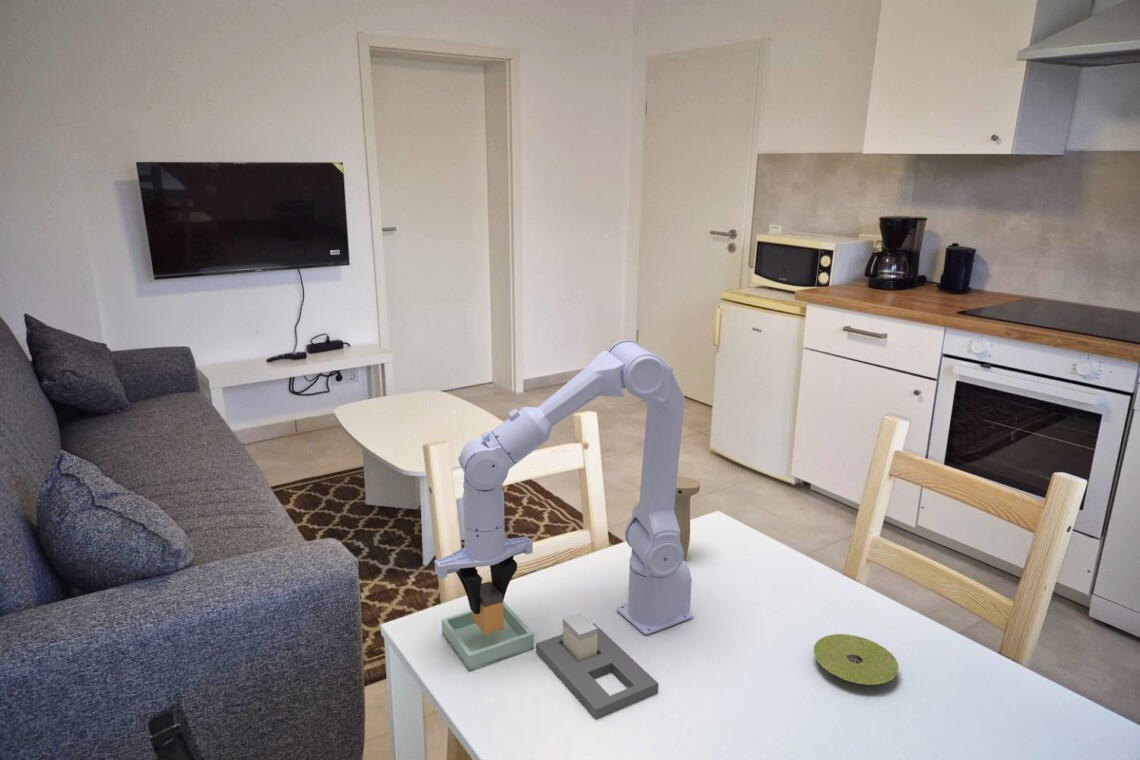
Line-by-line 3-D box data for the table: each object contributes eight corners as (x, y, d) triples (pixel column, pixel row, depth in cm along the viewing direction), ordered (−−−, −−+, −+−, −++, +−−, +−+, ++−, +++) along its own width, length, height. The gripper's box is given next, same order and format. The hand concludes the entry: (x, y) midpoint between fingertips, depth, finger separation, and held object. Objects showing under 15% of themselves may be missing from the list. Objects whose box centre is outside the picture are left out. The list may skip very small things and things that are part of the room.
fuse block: (593, 631, 114) (594, 623, 113) (658, 692, 101) (658, 683, 100) (536, 652, 109) (536, 643, 108) (595, 719, 96) (595, 709, 95)
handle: (694, 567, 132) (699, 489, 128) (658, 563, 134) (661, 486, 130) (696, 554, 137) (700, 478, 133) (661, 550, 138) (664, 475, 134)
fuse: (580, 645, 111) (580, 612, 109) (596, 661, 107) (597, 628, 106) (562, 651, 109) (563, 618, 108) (579, 668, 106) (579, 634, 104)
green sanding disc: (835, 635, 113) (836, 624, 113) (910, 669, 106) (912, 657, 105) (797, 668, 106) (798, 656, 105) (875, 708, 98) (877, 695, 98)
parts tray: (503, 614, 118) (502, 600, 117) (533, 648, 110) (533, 634, 109) (442, 633, 113) (441, 619, 112) (469, 671, 105) (468, 656, 104)
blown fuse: (490, 613, 113) (489, 581, 111) (503, 628, 109) (503, 595, 108) (472, 619, 111) (471, 586, 110) (484, 635, 108) (484, 601, 106)
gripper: (517, 501, 113) (517, 581, 117) (425, 523, 106) (429, 607, 110) (539, 519, 107) (539, 603, 111) (444, 544, 100) (447, 632, 104)
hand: (486, 607), depth 110 cm, fingers closed on blown fuse, 3 cm apart
